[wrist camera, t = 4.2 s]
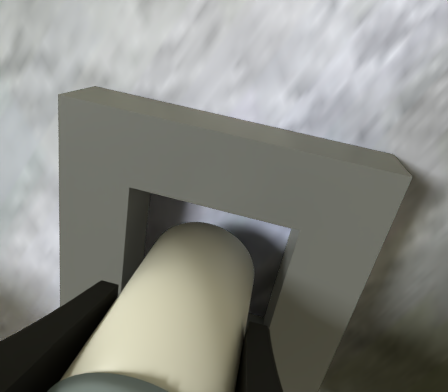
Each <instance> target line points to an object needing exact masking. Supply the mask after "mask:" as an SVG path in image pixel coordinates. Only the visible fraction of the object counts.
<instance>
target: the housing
mask: <svg viewBox="0 0 448 392" xmlns="http://www.w3.org/2000/svg"><path fill="white" fill-rule="evenodd" d="M58 121H59V226H60V307H61V306H62V305H64V304H66V303H67V302H69V301H70V300H72V299H73V298H75V297H76V296H78V295H79V294H81V293H82V292H84V291H85V290H87V289H88V288H90V287H91V286H93V285H94V284H96V283H98V282H99V281H101V280H103V281H107V282H110V283H114V284H118V285H119V287H118V296H119V294H120V293H121V292H122V290H123V289H124V287H125V286H126V284H127V283H128V281H129V280H130V279H131V277H132V276H133V274H134V273H135V271H136V270H137V268H138V267H139V266H140V264H141V263H142V261H143V257H144V248H145V239H146V230H147V221H148V212H149V203H150V193H153V194H157V195H161V196H165V197H169V198H173V199H177V200H181V201H185V202H189V203H193V204H197V205H201V206H205V207H209V208H213V209H217V210H221V211H224V212H228V213H232V214H236V215H240V216H244V217H248V218H252V219H256V220H260V221H264V222H268V223H272V224H276V225H280V226H284V227H288V228H292V229H291V232H290V235H289V239H288V242H287V245H286V248H285V252H284V255H283V258H282V261H281V265H280V268H279V271H278V274H277V278H276V281H275V284H274V287H273V291H272V294H271V297H270V300H269V304H268V307H267V310H266V313H265V317H261V316H257V315H254V314H250V313H248V318H247V323H246V329H245V333H246V330H247V326H248V323H249V321H251V322H255V323H258V324H262V325H265V326H268V328H269V329H270V337H271V343H272V349H273V354H274V358H275V363H276V367H277V371H278V375H279V378H280V382H281V385H282V389H283V392H318V391H319V388H320V386H321V384H322V381H323V379H324V377H325V375H326V372H327V370H328V368H329V366H330V363H331V361H332V359H333V357H334V354H335V352H336V350H337V347H338V345H339V343H340V341H341V338H342V336H343V334H344V332H345V329H346V327H347V325H348V323H349V320H350V318H351V316H352V313H353V311H354V309H355V307H356V304H357V302H358V300H359V298H360V295H361V293H362V291H363V289H364V286H365V284H366V282H367V279H368V277H369V275H370V273H371V270H372V268H373V266H374V264H375V261H376V259H377V257H378V255H379V252H380V250H381V248H382V245H383V243H384V241H385V239H386V236H387V234H388V232H389V230H390V227H391V225H392V223H393V221H394V218H395V216H396V214H397V211H398V209H399V207H400V205H401V202H402V200H403V198H404V196H405V193H406V191H407V189H408V187H409V184H410V182H411V180H412V176H411V175H410V173H409V172H408V171H407V170H406V169H405V168H404V166H403V165H402V164H401V163H400V162H399V161H398V159H397V158H396V157H395V156H394V155H393V154H389V153H385V152H380V151H376V150H372V149H367V148H363V147H359V146H354V145H350V144H345V143H341V142H337V141H332V140H328V139H324V138H319V137H315V136H310V135H306V134H302V133H297V132H293V131H289V130H284V129H280V128H275V127H271V126H267V125H262V124H258V123H254V122H249V121H245V120H240V119H236V118H232V117H227V116H223V115H219V114H214V113H210V112H206V111H201V110H197V109H192V108H188V107H184V106H179V105H175V104H171V103H166V102H162V101H157V100H153V99H149V98H144V97H140V96H136V95H131V94H127V93H122V92H118V91H114V90H109V89H105V88H101V87H96V86H94V87H89V88H85V89H80V90H76V91H71V92H67V93H63V94H58ZM244 337H245V335H244Z"/></svg>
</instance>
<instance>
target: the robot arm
mask: <svg viewBox="0 0 448 392" xmlns="http://www.w3.org/2000/svg"><path fill="white" fill-rule="evenodd" d="M118 287H119V285H118V284H114V283H110V282H107V281H103V280H101V281H99V282H98V283H96V284H94V285H93V286H91V287H90V288H88V289H87V290H85V291H84V292H82V293H81V294H79V295H78V296H76V297H75V298H73V299H72V300H70V301H69V302H67V303H66V304H64V305H62V306H61V307H59V308H58V309H56V310H54V311H53V312H51V313H50V314H48V315H46V316H45V317H43V318H42V319H40V320H38V321H36V322H35V323H33V324H31V325H29V326H28V327H26V328H24V329H22V330H21V331H19V332H17V333H15V334H13V335H12V336H10V337H8V338H6V339H4V340H2V341H0V392H47V391H48V390H49V389H50V388H51V387H52V386H53V385H55V384H56V383H58V382H59V381H60V380H61V378H62V377H63V375H64V374H65V372H66V371H67V369H68V368H69V367H70V365H71V364H72V362H73V361H74V359H75V358H76V356H77V355H78V354H79V352H80V351H81V349H82V348H83V346H84V345H85V343H86V342H87V341H88V339H89V338H90V336H91V335H92V333H93V332H94V330H95V329H96V328H97V326H98V325H99V323H100V322H101V320H102V319H103V318H104V316H105V315H106V313H107V312H108V310H109V309H110V307H111V306H112V305H113V303H114V302H115V300H116V299H117V297H118ZM235 392H283V389H282V385H281V382H280V378H279V375H278V371H277V367H276V363H275V358H274V354H273V349H272V343H271V337H270V329H269V328H268V326H265V325H262V324H258V323H255V322H251V321H249V323H248V326H247V330H246V333H245V337H244V341H243V347H242V353H241V359H240V364H239V370H238V376H237V382H236V388H235Z"/></svg>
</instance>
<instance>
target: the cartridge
mask: <svg viewBox="0 0 448 392" xmlns="http://www.w3.org/2000/svg"><path fill="white" fill-rule="evenodd" d="M253 283H254V265H253V261H252V258H251V256H250V254H249V252H248V250H247V249H246V247H245V246H244V245H243V244H242V242H241V241H240V240H239V239H238V238H236V237H235V236H234V235H233V234H231V233H230V232H228V231H226V230H225V229H223V228H220V227H218V226H215V225H212V224H208V223H202V222H188V223H182V224H179V225H176V226H174V227H172V228H170V229H168V230H167V231H165V232H164V233H163V234H162V235H161V236H160V237H159V238H158V240H157V241H156V242H155V244H154V245H153V247H152V248H151V250H150V251H149V253H148V254H147V255H146V257H145V258H144V260H143V261H142V263H141V264H140V266H139V267H138V268H137V270H136V271H135V273H134V274H133V276H132V277H131V279H130V280H129V281H128V283H127V284H126V286H125V287H124V289H123V290H122V292H121V293H120V294H119V296H118V297H117V299H116V300H115V302H114V303H113V305H112V306H111V307H110V309H109V310H108V312H107V313H106V315H105V316H104V318H103V319H102V320H101V322H100V323H99V325H98V326H97V328H96V329H95V330H94V332H93V333H92V335H91V336H90V338H89V339H88V341H87V342H86V343H85V345H84V346H83V348H82V349H81V351H80V352H79V354H78V355H77V356H76V358H75V359H74V361H73V362H72V364H71V365H70V367H69V368H68V369H67V371H66V372H65V374H64V375H63V377H62V378H61V380H60V381H59V382H58V383H56V384H55V385H53V386H52V387H51V388H50V389H49V390H48V391H47V392H235V388H236V382H237V376H238V370H239V364H240V359H241V353H242V347H243V341H244V335H245V329H246V323H247V318H248V312H249V306H250V300H251V294H252V288H253Z"/></svg>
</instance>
